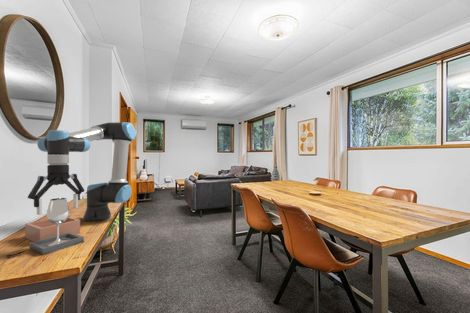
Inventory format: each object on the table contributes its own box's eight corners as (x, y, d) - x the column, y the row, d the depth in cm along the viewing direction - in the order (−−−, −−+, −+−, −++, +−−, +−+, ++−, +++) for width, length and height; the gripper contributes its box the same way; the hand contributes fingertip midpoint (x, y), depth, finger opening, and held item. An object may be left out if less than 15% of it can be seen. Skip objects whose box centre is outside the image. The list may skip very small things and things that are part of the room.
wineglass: (72, 240, 96) (73, 197, 97) (53, 247, 89) (54, 201, 89) (61, 238, 99) (62, 196, 99) (42, 245, 92) (42, 200, 92)
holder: (64, 228, 117) (64, 215, 117) (80, 233, 110) (80, 219, 110) (25, 237, 103) (25, 223, 103) (39, 244, 95) (40, 228, 95)
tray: (69, 237, 104) (69, 232, 104) (83, 242, 98) (83, 236, 98) (29, 248, 90) (29, 243, 90) (42, 255, 84) (42, 249, 84)
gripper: (84, 163, 107) (84, 204, 107) (17, 165, 85) (17, 216, 85) (92, 163, 104) (92, 205, 104) (24, 165, 82) (24, 219, 82)
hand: (58, 210), depth 94 cm, fingers open, 13 cm apart
